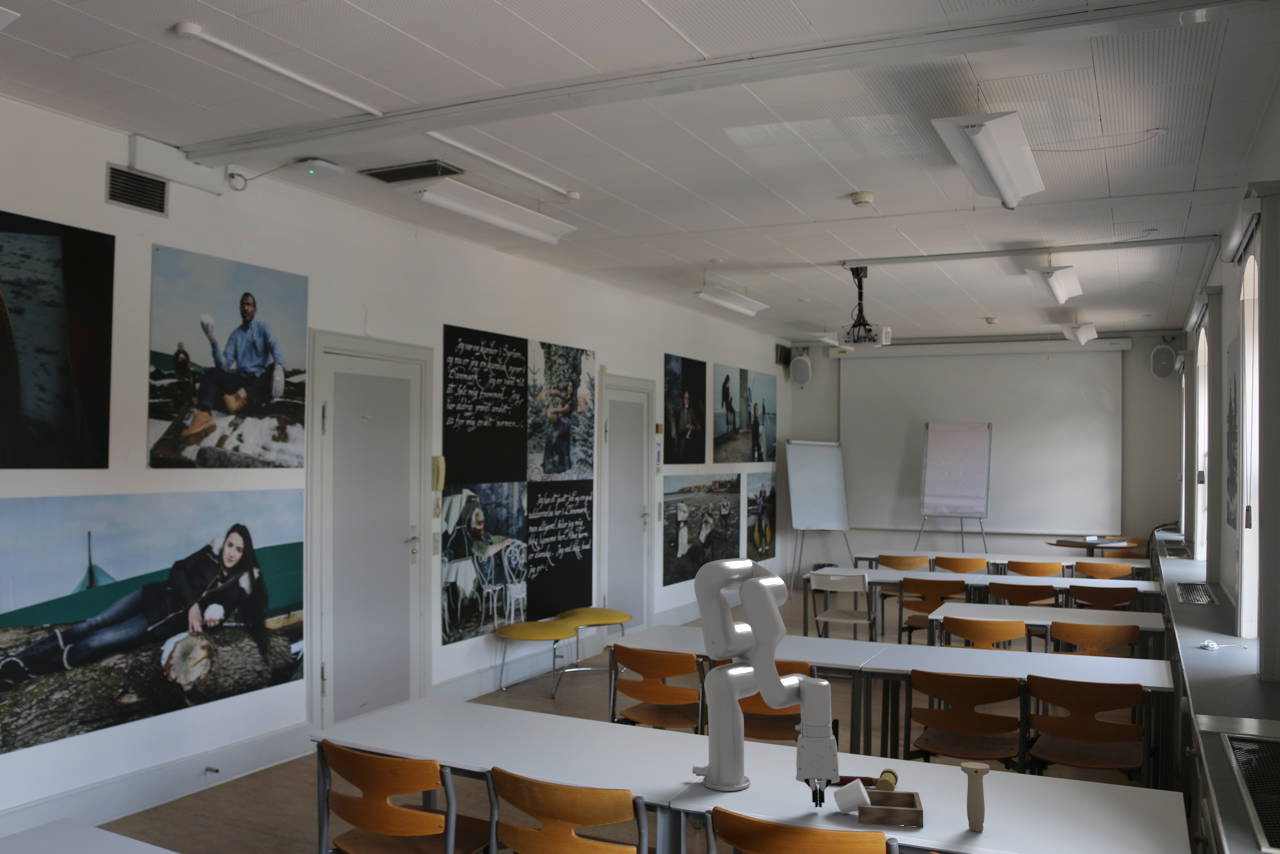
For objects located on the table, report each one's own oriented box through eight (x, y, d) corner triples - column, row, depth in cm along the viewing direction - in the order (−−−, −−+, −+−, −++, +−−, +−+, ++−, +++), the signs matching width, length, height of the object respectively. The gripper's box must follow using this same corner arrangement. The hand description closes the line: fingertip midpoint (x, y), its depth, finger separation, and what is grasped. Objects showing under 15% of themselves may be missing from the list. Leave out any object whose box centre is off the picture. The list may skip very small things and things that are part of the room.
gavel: (812, 776, 265) (819, 765, 274) (813, 794, 265) (820, 782, 274) (893, 779, 258) (897, 768, 267) (894, 797, 257) (898, 786, 267)
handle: (960, 825, 237) (959, 761, 238) (989, 827, 236) (988, 763, 236) (962, 832, 232) (961, 767, 233) (991, 834, 231) (990, 769, 231)
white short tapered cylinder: (846, 812, 248) (872, 801, 247) (843, 820, 242) (870, 809, 240) (833, 785, 250) (859, 775, 248) (830, 792, 243) (857, 782, 242)
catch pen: (858, 823, 238) (858, 806, 239) (856, 804, 251) (856, 788, 251) (923, 827, 236) (923, 810, 236) (918, 808, 249) (918, 792, 249)
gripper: (785, 733, 245) (787, 809, 244) (847, 735, 242) (849, 812, 241) (786, 725, 252) (788, 799, 251) (847, 727, 249) (849, 802, 248)
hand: (818, 805), depth 246 cm, fingers closed
